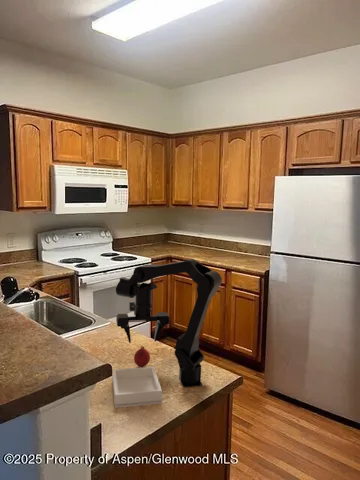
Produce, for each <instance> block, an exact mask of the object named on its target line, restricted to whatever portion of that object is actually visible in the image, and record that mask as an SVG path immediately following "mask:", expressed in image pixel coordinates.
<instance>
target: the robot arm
mask: <svg viewBox="0 0 360 480" xmlns="http://www.w3.org/2000/svg"><path fill="white" fill-rule="evenodd" d="M182 273H186V274H187V275H188V276H189V277H190V278H191V280H192V281H193V283H195V284H196V296H197V297H196V300H195V302H194V303H195V304H194V306H193V309H192V312H191V315H190V318H189V321H188V324H187V327H186V330H185V332H184V333H183V334H181V335H180V336H178V337H177V339H176V340H175V341H176V342H175V346H174V347H173V350H174V356H175V358H176V359H177V363H178V366H179V369H178V370H179V372H178V373H179V375H178V378H179V382H180V383H181V385H182V387H183V388H187V387H188V388H191V387H198V386H199V387H202V386H203V383H202V381H201V380H202V365H201V363H202V362H203V361H204V358H205V355H204V354H203V353H202V351H201V350H200V348H199V345H200V338H199V335H200V333H201V329H202V326H203V323H204V321H205V317H206V314H207V311H208V309H209V305H210V303H211V300H212V299H213V297H214V296H215V294H216V293H217V292H218V290H219V289H220V286H221V284H222V282H223V278H222V275H221V274H220V273H219V272H218V271H216V270H213V269H211V268H209V267H208V266H205V264H202V263H200V262H199V261H197V260H196V259H195V258H189V259H186V260H182V261H177V262H176V261H175V262H171V263H170V262H169V263H164V264H155V263H154V264H152V263H151V264H150V263H149V264H148V263H147V264H144V265H139V266H136V267H134V270H133V273H132V275H131V277H130V278H127V277H123V276H122V277H120V278H119V282H117V284H116V287H115V293H116V295H117V296H119V297H125V298H131V299H135V302H134V301H130V302H129V304H128V305H129V306H128V308H129V309H128V310H129V312H133V314H134V316H129V314H128V313H118V314H117V315H116V316H115V317H116V321H115V322H116V327H120V329H122V330H124V332H125V334H126V337H127V340H128V343H129V344H131V342H132V341H131V340H132V339H131V332H130V331H131V330H130V329H131V328H130V324H129V323H138V322H139V323H141V322H155V327H154V328H155V329H154V337H153V339H154V342H157V340H158V338H159V335H160V333H161V332H162V330H163V328H164V327H167V325H169V324H171V323H170V322H171V318H170V316H169V314H168V313H167V311H164V312H162V311H159V312H156V315H152V299H153V298H152V296H153V295H152V294H153V292H152V291H154V290H156V289H158V286H157V285H156V284H155V283H154V281H151V280H153V279H156V278H158V277H163V276H171V275H176V274H182ZM148 281H151V282H149V283H148Z"/></svg>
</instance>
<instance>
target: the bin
mask: <svg viewBox="0 0 360 480" xmlns="http://www.w3.org/2000/svg"><path fill="white" fill-rule="evenodd" d="M112 370H113V376H112V377H111V379H112V380H111V381H112V391H113V392H112V393H113V401H114V408H115V409H117V408H127V407H136V406H139V407H140V406H147V405H159V404H162V401H163V400H162V399H163V390H162V388H161V384H160V380H159V379H158V376H157V372H156V369H155V367H154V366H144V367H132V368H131V367H129V368H115V369H112Z"/></svg>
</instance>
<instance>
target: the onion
mask: <svg viewBox="0 0 360 480" xmlns="http://www.w3.org/2000/svg"><path fill="white" fill-rule="evenodd" d="M150 360H151V356H150V352H149V351H148V350H147V349H146V348H145V346H144V345H143V346H142V345H141V347H140V348H139V349H138V350H136V352H135V353H134V356H133V361H134V363H135V365H136V366H138V368H141V367H147V365H148V364H149V362H150Z"/></svg>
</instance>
